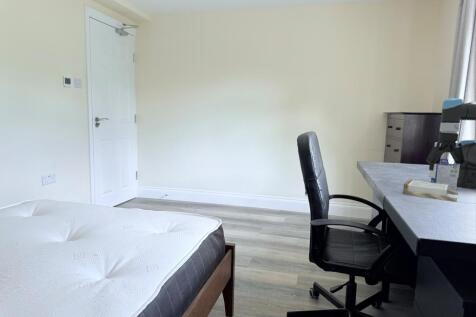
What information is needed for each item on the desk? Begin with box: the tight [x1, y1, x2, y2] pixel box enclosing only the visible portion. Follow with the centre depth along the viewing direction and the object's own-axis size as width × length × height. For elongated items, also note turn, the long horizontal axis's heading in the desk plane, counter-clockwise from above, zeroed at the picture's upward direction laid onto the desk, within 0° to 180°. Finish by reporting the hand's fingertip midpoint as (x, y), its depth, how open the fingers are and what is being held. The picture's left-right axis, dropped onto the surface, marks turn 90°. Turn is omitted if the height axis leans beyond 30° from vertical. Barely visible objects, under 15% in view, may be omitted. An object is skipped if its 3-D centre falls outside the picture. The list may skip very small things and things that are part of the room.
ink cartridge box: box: [430, 158, 459, 191], centre depth 153 cm, size 10×6×14 cm, turn 89°
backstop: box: [402, 178, 459, 202], centre depth 143 cm, size 20×16×4 cm
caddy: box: [407, 179, 448, 196], centre depth 143 cm, size 14×14×4 cm
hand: (443, 177), depth 153 cm, fingers open, 13 cm apart
